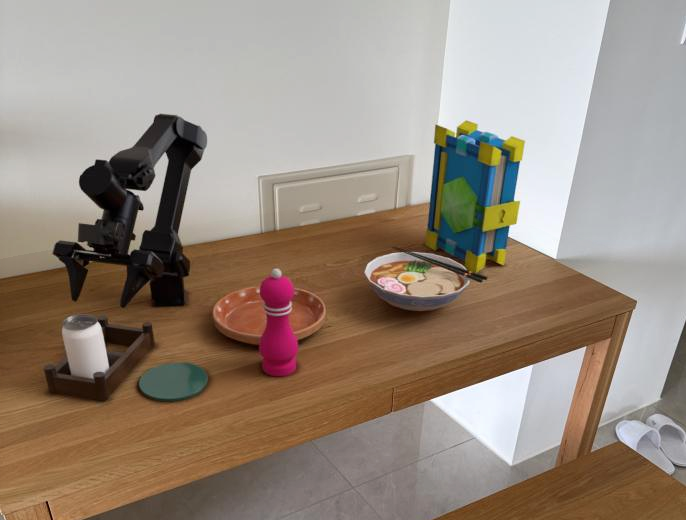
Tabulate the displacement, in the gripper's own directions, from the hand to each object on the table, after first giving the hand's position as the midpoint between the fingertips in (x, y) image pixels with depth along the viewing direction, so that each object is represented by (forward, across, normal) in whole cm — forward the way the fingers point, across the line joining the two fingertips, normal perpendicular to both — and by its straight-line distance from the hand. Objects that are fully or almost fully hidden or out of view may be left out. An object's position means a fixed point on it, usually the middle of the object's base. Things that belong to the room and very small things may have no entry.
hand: (97, 304), depth 127 cm
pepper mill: (+4, +31, +14) cm, 34 cm away
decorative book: (-41, +60, +58) cm, 93 cm away
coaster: (+11, +14, +7) cm, 19 cm away
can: (+13, 0, +4) cm, 14 cm away
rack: (+10, 0, +8) cm, 12 cm away
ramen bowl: (-20, +52, +37) cm, 67 cm away
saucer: (-7, +24, +24) cm, 35 cm away
